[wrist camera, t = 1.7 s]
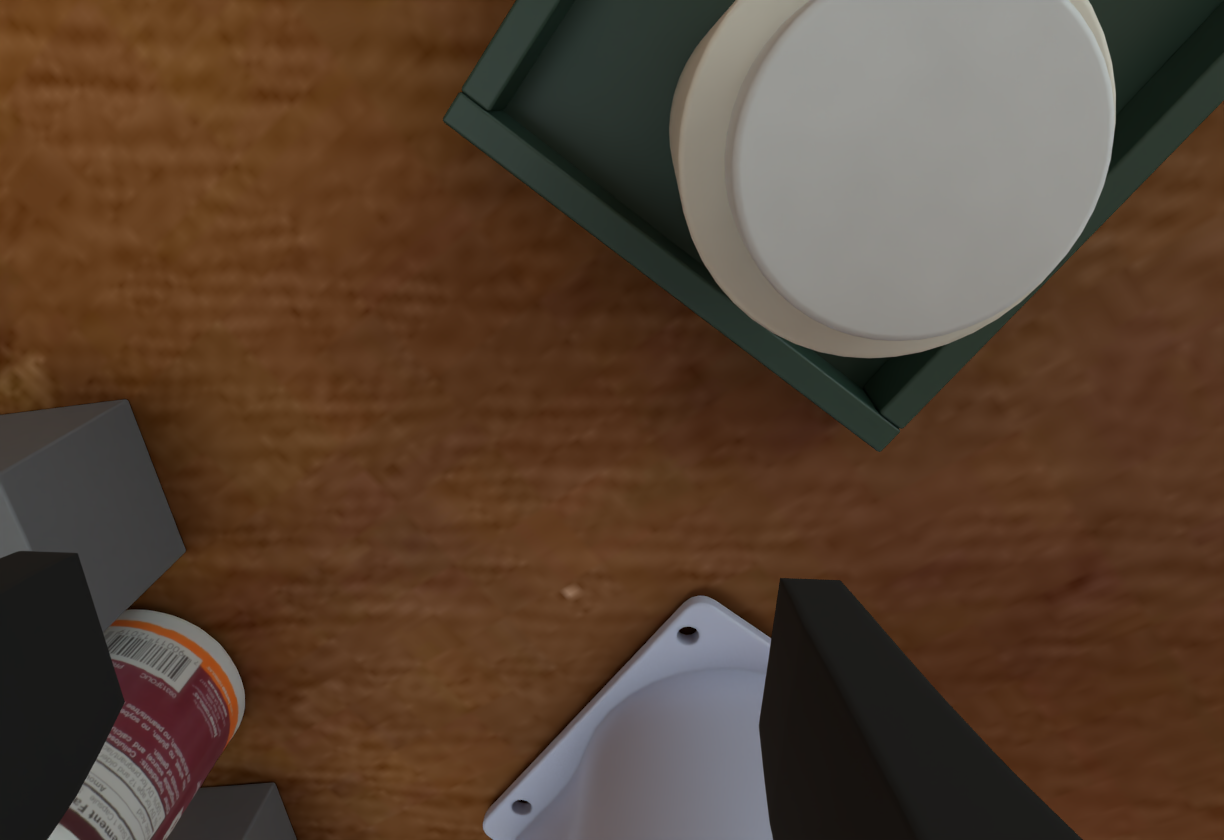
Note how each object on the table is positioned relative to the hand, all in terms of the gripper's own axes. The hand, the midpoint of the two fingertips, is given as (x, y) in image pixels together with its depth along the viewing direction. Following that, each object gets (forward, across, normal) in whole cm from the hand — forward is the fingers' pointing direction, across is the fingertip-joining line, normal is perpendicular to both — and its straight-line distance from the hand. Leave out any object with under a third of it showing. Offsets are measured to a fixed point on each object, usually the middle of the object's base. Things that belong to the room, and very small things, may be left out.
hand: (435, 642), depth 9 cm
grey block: (+10, +11, +4) cm, 15 cm away
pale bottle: (+10, -5, -4) cm, 11 cm away
